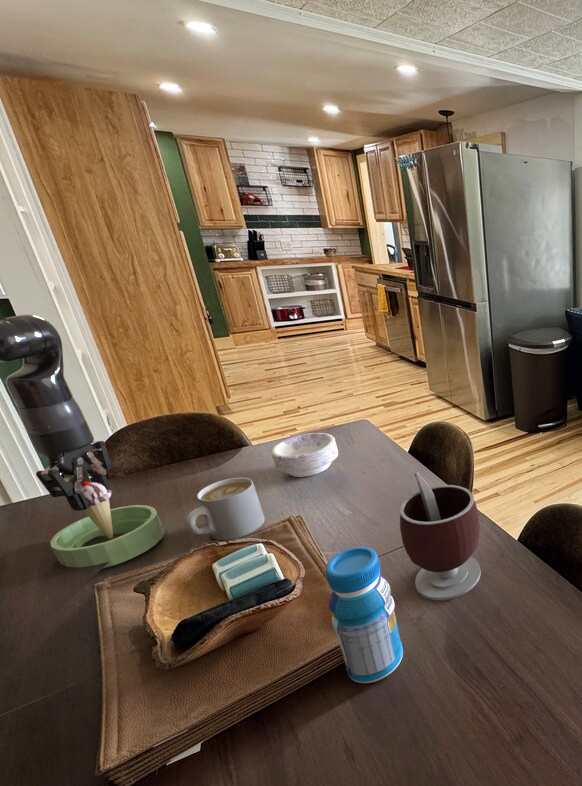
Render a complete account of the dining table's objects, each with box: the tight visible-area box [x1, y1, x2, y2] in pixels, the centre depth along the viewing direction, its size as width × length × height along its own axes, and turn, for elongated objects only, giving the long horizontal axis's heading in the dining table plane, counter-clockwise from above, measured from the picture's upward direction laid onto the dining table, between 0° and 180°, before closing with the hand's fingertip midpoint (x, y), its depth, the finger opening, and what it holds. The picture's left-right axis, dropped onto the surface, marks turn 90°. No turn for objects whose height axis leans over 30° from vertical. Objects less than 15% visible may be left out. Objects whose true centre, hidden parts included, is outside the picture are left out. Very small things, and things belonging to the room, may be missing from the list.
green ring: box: [49, 504, 166, 569], centre depth 99 cm, size 16×16×6 cm
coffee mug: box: [185, 477, 266, 541], centre depth 104 cm, size 13×10×10 cm
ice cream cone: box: [80, 480, 115, 540], centre depth 96 cm, size 6×6×15 cm
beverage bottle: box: [325, 546, 404, 684], centre depth 71 cm, size 8×8×20 cm
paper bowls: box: [271, 432, 339, 478], centre depth 131 cm, size 15×15×8 cm
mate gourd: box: [399, 471, 482, 601], centre depth 89 cm, size 16×14×20 cm
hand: (93, 500), depth 95 cm, fingers closed on ice cream cone, 5 cm apart
